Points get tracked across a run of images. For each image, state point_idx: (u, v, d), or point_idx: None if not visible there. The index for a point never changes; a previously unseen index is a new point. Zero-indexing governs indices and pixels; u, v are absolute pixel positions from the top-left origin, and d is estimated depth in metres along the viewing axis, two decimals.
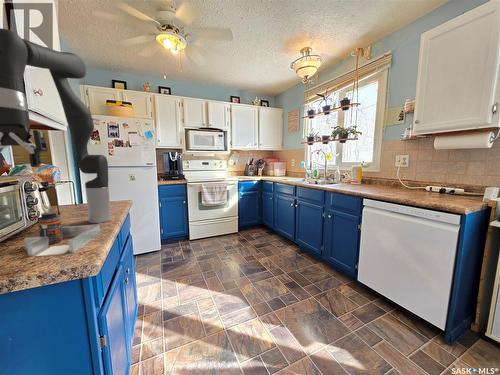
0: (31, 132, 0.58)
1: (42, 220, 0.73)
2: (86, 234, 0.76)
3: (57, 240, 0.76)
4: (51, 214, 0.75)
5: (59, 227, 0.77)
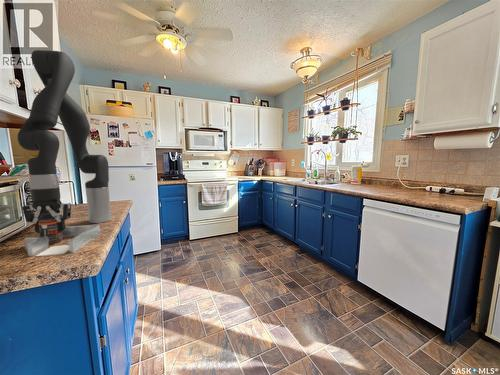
0: (62, 204, 0.76)
1: (42, 220, 0.73)
2: (86, 234, 0.76)
3: (57, 240, 0.76)
4: None
5: None
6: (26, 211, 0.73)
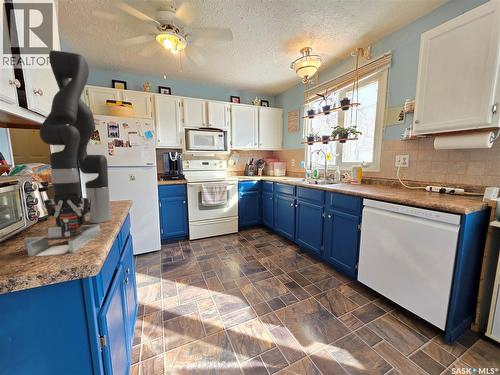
0: (82, 199, 0.76)
1: (63, 214, 0.74)
2: (86, 234, 0.76)
3: (78, 234, 0.77)
4: None
5: None
6: (48, 205, 0.74)
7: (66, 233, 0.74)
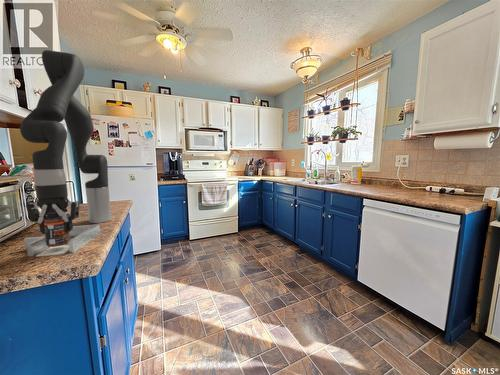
0: (69, 203, 0.69)
1: (48, 220, 0.67)
2: (86, 234, 0.76)
3: (64, 242, 0.69)
4: None
5: None
6: (30, 210, 0.66)
7: (50, 241, 0.67)
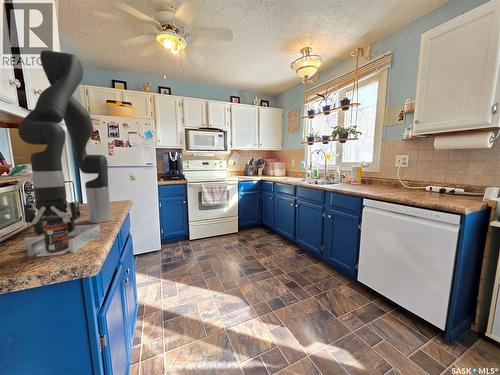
0: (68, 204, 0.68)
1: (47, 225, 0.66)
2: (86, 234, 0.76)
3: (64, 247, 0.69)
4: (57, 218, 0.68)
5: (66, 232, 0.70)
6: (27, 210, 0.65)
7: (50, 247, 0.67)
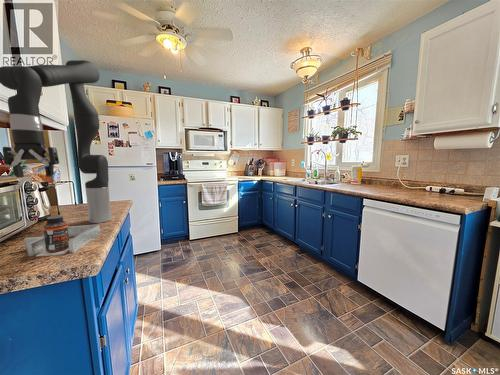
0: (46, 148, 0.72)
1: (47, 225, 0.66)
2: (86, 234, 0.76)
3: (64, 247, 0.69)
4: (57, 218, 0.68)
5: (66, 233, 0.70)
6: (6, 153, 0.69)
7: (50, 247, 0.67)
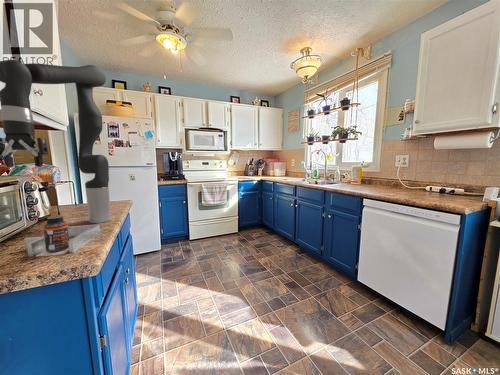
0: (35, 139, 0.75)
1: (47, 225, 0.66)
2: (86, 234, 0.76)
3: (64, 247, 0.69)
4: (57, 218, 0.68)
5: (66, 233, 0.70)
6: None
7: (50, 246, 0.67)
